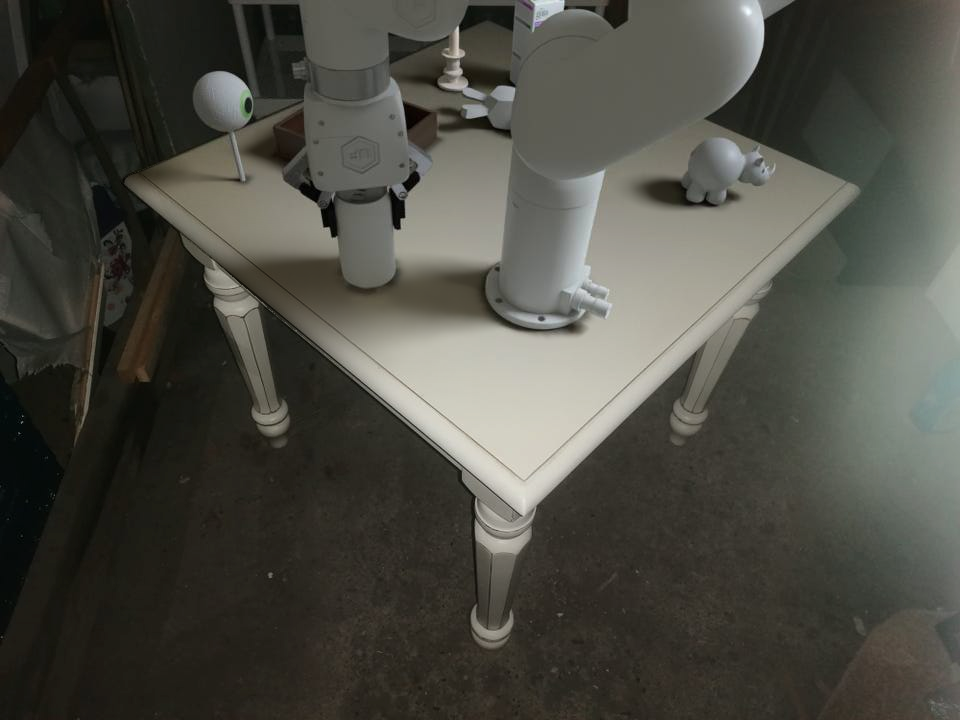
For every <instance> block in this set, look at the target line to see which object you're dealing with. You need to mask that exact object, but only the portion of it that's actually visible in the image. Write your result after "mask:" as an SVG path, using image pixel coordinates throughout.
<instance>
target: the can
mask: <svg viewBox="0 0 960 720" xmlns="http://www.w3.org/2000/svg"><path fill="white" fill-rule="evenodd" d="M332 201H333V206H334V212H335V219H336V227H337V234H338V236H336V239H337V246H338V253H339V261H340V267H341V273H342V276H343V278H344V279H345V281H347V282H348V283H349V284H351V285H352V286H354V287H356V288H360V289H367V290H368V289H375V288H380V287H382V286H384V285H386V284H387V283H389V282H390V281H391V280H392V279H393V278H394V276H395V274H396V269H397V268H396V250H395V249H396V248H395V231H394V230H395V229H394V226H393V213H392V201H391V196H390V194H389V190H388V186H384V187H375V188H366V189H356V190H346V191H335V192H334V194H333V197H332Z"/></svg>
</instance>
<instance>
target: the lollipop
mask: <svg viewBox="0 0 960 720" xmlns="http://www.w3.org/2000/svg"><path fill="white" fill-rule="evenodd" d="M192 103H193V106H194V110H195V112H196V114H197V116H198V117H199V119H200V120H201V121H202V122H203V123H204V124H205V125H207V126H208V127H210V128H211V129H212V130H213V129H214V130H216V131H219V132H225V133H226V132H227V133H228V137H229V141H230V145H231V149H232V152H233V157H234V161H235V165H236V169H237V172H238V177H239V181H240V182H245V181H246V177H245V173H244V167H243V164H242V160H241V156H240V152H239V148H238V144H237V139H236V136H235V133H234V131H238V130H239V129H242V128H243V127H244V126H246V124H247V123H248V122H249V121H250V119H251V118H252V115H253V111H254V100H253V96H252V93H251V90H250V89H249V87H248V86H247V85H246V83H245V82H244V81H243V80H242V79H241V78H239V77H238V76H237V75H235V74H233V73H231V72H228V71H224V70H223V71H221V70H217V71H216V70H215V71H211V72H208V73H205V74H204V75H203V76H202V77H200V78H199V79H198V80H197V82H196V83H195V86H194V88H193V91H192Z"/></svg>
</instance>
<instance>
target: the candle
mask: <svg viewBox="0 0 960 720" xmlns="http://www.w3.org/2000/svg"><path fill="white" fill-rule="evenodd" d="M459 26H460V25H459ZM459 26H458V27H457V28H456V29H455V30H454V31H453V32H452V33H451V34H450V35H448V47H446V48H444V49H442V50H441V55H442V56H443V57H445V58H446V66H445V67H444V68H443V74H444V75H442V76H440V77H438V78H437V86H438V87H439V88H440V89H441V90H443V91H447V92H462V90H463V89H464V88H467V87H468V86H469V80H468V79H467V78H466V77H465V76H463V68H462V67H460V65H461V62H460V60H461V58H463V57H465V55H466V52H465V50H464V49H462V48H460V27H459Z"/></svg>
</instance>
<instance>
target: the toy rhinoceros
mask: <svg viewBox="0 0 960 720" xmlns="http://www.w3.org/2000/svg"><path fill="white" fill-rule="evenodd" d="M760 148H761V146H760V145H757V146H756V147H754V148H753V149H752V150H751V151H747V152H744V153H742V152H741V149H740V148H739V146H738V145H737V144H736V143H735V142H734V141H733V140H730V139H729V138H726V137H719V136H717V137H710V138H708V139H705V140H703V141H701V142H700V143H699V144H698V145H697V146H695V148H694V149H692V151H691V152H690V155H689V158H688V161H687V162H688V163H687V170H686V171H685V173H683V175H682V177H681V180H680V183H681V186H682V187H683V188H684V189H686V194H685V198H686V199H687V200H688V201H689V202H692V203H701V202H704V200H705V199H706V201H707V202H708V203H710V204H711V205H714V206H715V205H716V206H717V205H721V204H723V203H724V202H725V200H726V199H727V189H728V188H730V187H731V186H732V185H733V184H734V183H735V182H737V180H738V181H739V182H740V183H742V184H751V185H753V186H754V187H762V186H764V185H766V183H768V182H769V180H770V178H771V177H770V176H771V175H773V173H774V172H775V170H776V163H775V162H773V164H772V166H771V167H769V165H767V166H766V164H765V160H766V159H765V157H764V156H762V155H761V154H760V152H759V150H760Z"/></svg>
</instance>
